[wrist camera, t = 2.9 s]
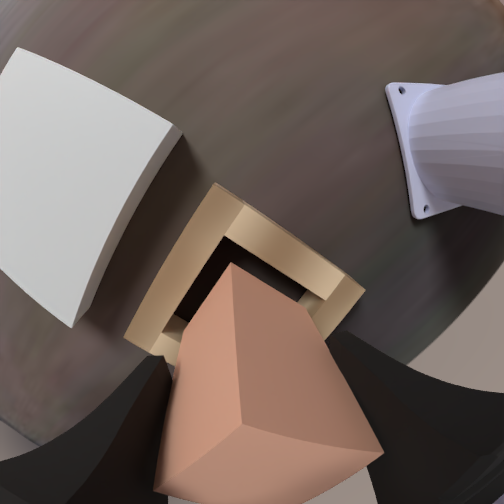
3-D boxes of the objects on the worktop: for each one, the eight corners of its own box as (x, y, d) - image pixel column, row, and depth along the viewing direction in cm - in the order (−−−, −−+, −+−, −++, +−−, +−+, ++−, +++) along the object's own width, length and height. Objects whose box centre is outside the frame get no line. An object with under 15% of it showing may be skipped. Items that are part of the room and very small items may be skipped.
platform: (183, 133, 12) (173, 124, 9) (89, 307, 14) (71, 328, 11) (39, 57, 9) (17, 46, 7) (-24, 208, 11) (-46, 214, 9)
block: (305, 307, 12) (384, 452, 4) (254, 366, 13) (279, 513, 5) (230, 262, 11) (241, 423, 4) (183, 331, 12) (153, 490, 4)
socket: (347, 274, 15) (365, 289, 12) (259, 380, 16) (263, 404, 14) (215, 182, 13) (213, 183, 11) (134, 316, 14) (123, 337, 12)
